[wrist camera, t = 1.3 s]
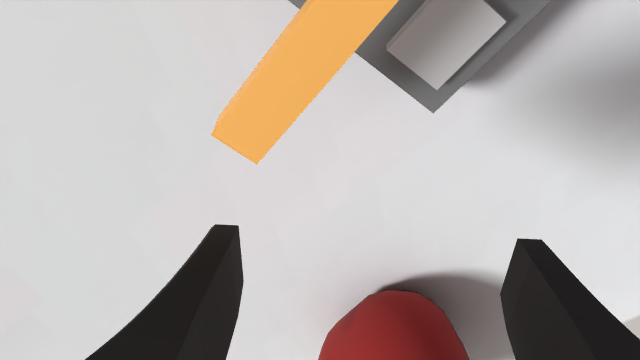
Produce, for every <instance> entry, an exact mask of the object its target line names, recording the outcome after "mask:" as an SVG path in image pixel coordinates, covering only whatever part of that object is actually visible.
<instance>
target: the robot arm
mask: <svg viewBox="0 0 640 360" xmlns="http://www.w3.org/2000/svg"><path fill="white" fill-rule="evenodd" d="M243 282H244V281H243V270H242V259H241V248H240V237H239V226H237V225H214V226H213V227H212V228H211V229H210V230H209V232H208V233H207V235H206V236H205V237H204V239H203V240H202V242H201V243H200V244H199V246H198V247H197V248H196V250H195V251H194V252H193V253H192V255H191V256H190V257H189V259H188V260H187V261H186V262H185V263H184V265H183V266H182V267H181V268H180V269H179V271H178V272H177V273H176V274H175V275H174V277H173V278H172V279H171V280H170V281H169V282H168V284H167V285H166V286H165V287H164V288H163V289H162V290H161V291H160V292H159V293H158V294H157V295H156V296H155V298H154V299H153V300H152V301H151V302H150V303H149V304H148V305H147V306H146V307H145V308H144V309H143V310H142V311H141V312H140V313H139V314H138V315H137V316H136V317H135V318H134V319H133V320H132V321H131V322H129V323H128V324H127V325H126V326H125V327H124V328H123V329H122V330H121V331H119V332H118V333H117V334H116V335H115V336H114V337H112V338H111V339H110V340H109V341H108V342H106V343H105V344H104V345H103V346H102V347H100V348H99V349H98V350H97V351H95V352H94V353H93V354H92V355H90V356H89V357H88V358H86V359H85V360H226V357H227V353H228V350H229V346H230V343H231V339H232V336H233V332H234V329H235V325H236V321H237V318H238V313H239V307H240V301H241V295H242V288H243ZM500 295H501V301H502V307H503V313H504V319H505V324H506V329H507V333H508V336H509V339H510V343H511V346H512V349H513V352H514V355H515V359H516V360H640V339H639V338H637V337H636V336H635V335H634V334H633V333H632V332H631V331H630V330H629V329H627V328H626V327H625V326H624V325H623V324H622V323H621V322H620V321H619V320H618V319H617V318H616V317H615V316H613V315H612V314H611V313H610V312H609V311H608V310H607V309H606V308H605V307H604V306H603V305H602V304H601V303H600V302H599V301H598V300H597V299H596V298H595V297H594V296H593V295H592V294H591V293H590V292H589V290H588V289H587V288H586V287H585V286H584V285H583V284H582V283H581V282H580V281H579V280H578V279H577V278H576V277H575V276H574V275H573V273H572V272H571V271H570V270H569V269H568V268H567V267H566V266H565V265H564V264H563V263H562V261H561V260H560V259H559V258H558V257H557V256H556V255H555V254H554V253H553V251H552V250H551V249H550V248H549V247H548V246H547V245H546V244H545V243H544V242H543V241H542V240H537V239H517V242H516V245H515V248H514V251H513V255H512V258H511V261H510V264H509V268H508V271H507V274H506V277H505V280H504V284H503V287H502V290H501V293H500Z"/></svg>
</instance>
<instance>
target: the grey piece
mask: <svg viewBox="0 0 640 360" xmlns="http://www.w3.org/2000/svg"><path fill="white" fill-rule="evenodd" d="M289 1H290V2H291V3H292V4H294V5H295V6H296V7H298V8H299V9H301V7H302V6H303V5H304V3H305V2H306V1H307V0H289ZM550 1H551V0H399V1H398V2H397V3H396V4H395V5H394V7H393V8H392V9H391V10H390V11H389V12H388V14H387V15H386V16H385V17H384V18H383V19H382V21H381V22H380V23H379V24H378V25H377V26H376V27H375V29H374V30H373V31H372V32H371V33H370V34H369V36H368V37H367V38H366V39H365V40H364V41H363V42H362V44H361V45H360V46H359V47H358V48H357V49H356V51H355V53H357V54H358V55H359V56H360V57H362V58H363V59H364V60H366V61H367V62H368V63H369V64H371V65H372V66H373V67H375V68H376V69H377V70H378V71H380V72H381V73H382V74H384V75H385V76H386V77H387V78H389V79H390V80H391V81H393V82H394V83H395V84H396V85H398V86H399V87H400V88H402V89H403V90H404V91H405V92H407V93H408V94H409V95H411V96H412V97H413V98H414V99H416V100H417V101H418V102H420V103H421V104H422V105H423V106H425V107H426V108H427V109H429V110H430V111H431V112H432V113H434V112H435V111H436V110H437V109H438V108H440V107H441V106H442V105H443V104H444V103H445V102H446V101H447V100H448V99H449V98H450V97H451V96H452V95H453V94H454V93H455V92H456V91H457V90H458V89H459V88H460V87H461V86H462V85H463V84H465V83H466V82H467V81H468V80H469V79H470V78H471V77H472V76H473V75H474V74H475V73H476V72H477V71H478V70H479V69H480V68H481V67H482V66H483V65H484V64H485V63H486V62H487V61H488V60H490V59H491V58H492V57H493V56H494V55H495V54H496V53H497V52H498V51H499V50H500V49H501V48H502V47H503V46H504V45H505V44H506V43H507V42H508V41H509V40H510V39H511V38H512V37H513V36H515V35H516V34H517V33H518V32H519V31H520V30H521V29H522V28H523V27H524V26H525V25H526V24H527V23H528V22H529V21H530V20H531V19H532V18H533V17H534V16H535V15H536V14H537V13H538V12H540V11H541V10H542V9H543V8H544V7H545V6H546V5H547V4H548V3H549V2H550Z"/></svg>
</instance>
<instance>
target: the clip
mask: <svg viewBox="0 0 640 360" xmlns="http://www.w3.org/2000/svg"><path fill="white" fill-rule="evenodd" d="M398 1H399V0H307V1H306V2H305V3H304V5H303V6H302V7H301V9H300V10H299V11H298V13H297V14H296V15H295V17H294V18H293V19H292V21H291V22H290V23H289V24H288V26H287V27H286V28H285V30H284V31H283V32H282V34H281V35H280V36H279V38H278V39H277V40H276V42H275V43H274V44H273V46H272V47H271V48H270V49H269V51H268V52H267V53H266V55H265V56H264V57H263V59H262V60H261V61H260V63H259V64H258V65H257V67H256V68H255V69H254V71H253V72H252V73H251V74H250V76H249V77H248V78H247V80H246V81H245V82H244V84H243V85H242V86H241V88H240V89H239V90H238V92H237V93H236V94H235V96H234V97H233V98H232V99H231V101H230V102H229V103H228V105H227V106H226V107H225V109H224V110H223V111H222V113H221V114H220V115H219V118H218V120H217V122H216V125H215V127H214V129H213V132H212V134H211V135H212V136H213V137H215V138H216V139H218V140H219V141H221V142H223V143H224V144H226V145H227V146H229V147H230V148H232V149H233V150H235V151H237V152H238V153H240V154H241V155H243V156H244V157H246V158H248V159H249V160H251V161H252V162H254V163H255V164H258V162H259V161H260V160H261V159H262V158H263V157H264V156H265V154H266V153H267V152H268V151H269V150H270V149H271V147H272V146H273V145H274V144H275V143H276V142H277V141H278V139H279V138H280V137H281V136H282V135H283V134H284V132H285V131H286V130H287V129H288V128H289V127H290V126H291V124H292V123H293V122H294V121H295V120H296V119H297V117H298V116H299V115H300V114H301V113H302V112H303V111H304V109H305V108H306V107H307V106H308V105H309V104H310V102H311V101H312V100H313V99H314V98H315V97H316V96H317V94H318V93H319V92H320V91H321V90H322V89H323V87H324V86H325V85H326V84H327V83H328V82H329V81H330V79H331V78H332V77H333V76H334V75H335V74H336V72H337V71H338V70H339V69H340V68H341V67H342V66H343V64H344V63H345V62H346V61H347V60H348V59H349V57H350V56H351V55H352V54H353V53H354V52H355V51H356V49H357V48H358V47H359V46H360V45H361V44H362V42H363V41H364V40H365V39H366V38H367V37H368V36H369V34H370V33H371V32H372V31H373V30H374V29H375V27H376V26H377V25H378V24H379V23H380V22H381V21H382V19H383V18H384V17H385V16H386V15H387V14H388V12H389V11H390V10H391V9H392V8H393V7H394V5H395V4H396V3H397V2H398Z"/></svg>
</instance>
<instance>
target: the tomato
mask: <svg viewBox="0 0 640 360" xmlns="http://www.w3.org/2000/svg"><path fill="white" fill-rule="evenodd" d="M318 360H469V357H468V355H467V353H466V350H465V348H464V345H463V344H462V342H461V340H460V338H459V337H458V335H457V333H456V332H455V330H454V328H453V327H452V325H451V323H450V322H449V320H448V318H447V317H446V315H445V313H444V312H443V311H442V310H441V309H440V308H439V307H438V306H437V305H436V304H435V303H434V302H432V301H431V300H430V299H428V298H426V297H424V296H422V295H420V294H418V293H416V292H407V291H394V290H387V291H383V292H379V293H375V294H372V295H369V296H367V297H366V298H365V299H364V300H363V301H362V302H360V303H359V304H358V305H357V306H356V307H355V308H353V309H352V310H351V311H350V312H349V313H348V314H346V315H345V316H344V317H343V318H342V319H341V320H340V321H338V322H337V323H336V325H335V326H334V327H333V328H332V329H331V330H330V332H329V333H328V335H327V337H326V339H325V341H324V344H323V346H322V349H321V352H320V356H319V359H318Z"/></svg>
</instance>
